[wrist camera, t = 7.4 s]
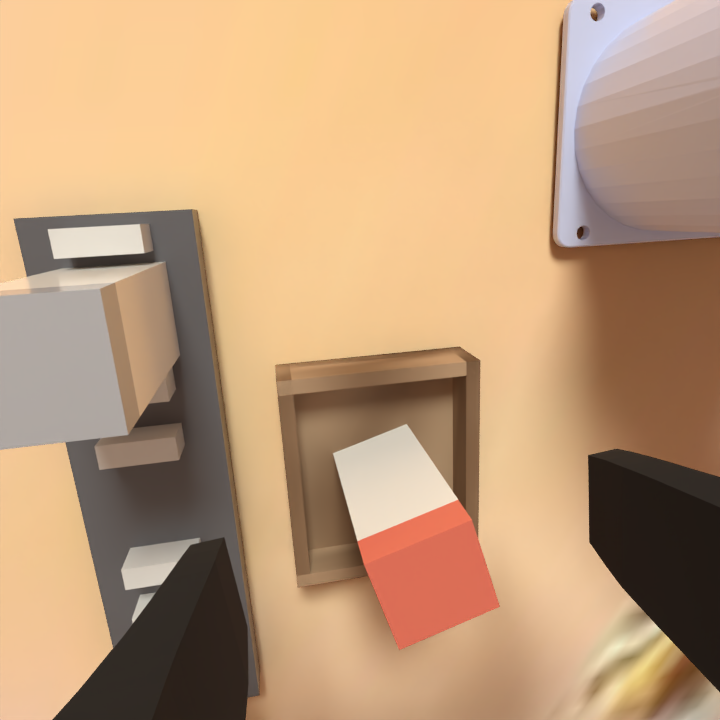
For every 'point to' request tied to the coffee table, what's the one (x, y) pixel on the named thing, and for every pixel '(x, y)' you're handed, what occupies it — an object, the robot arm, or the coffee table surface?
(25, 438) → the block
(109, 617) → the block
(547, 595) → the coffee table surface
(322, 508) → the tray
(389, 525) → the red cap fuse
